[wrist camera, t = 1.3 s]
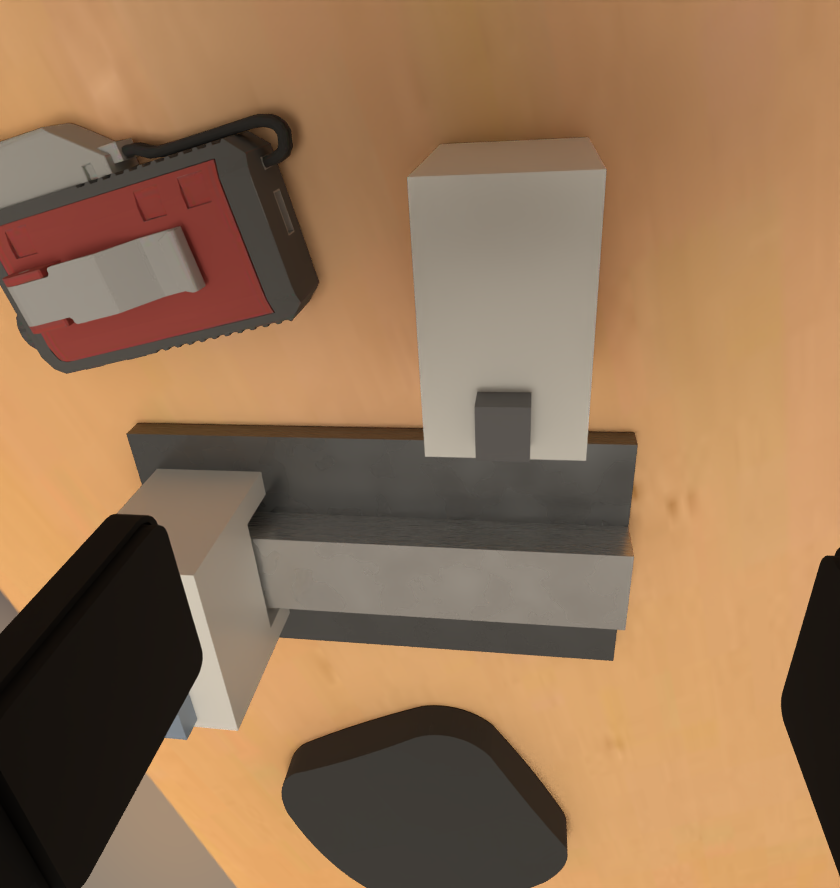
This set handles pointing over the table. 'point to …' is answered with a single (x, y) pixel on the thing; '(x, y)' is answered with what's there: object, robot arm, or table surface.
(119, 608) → the robot arm
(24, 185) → the walkie-talkie
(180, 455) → the rail plate
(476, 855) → the media streaming box
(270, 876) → the table surface
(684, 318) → the table surface
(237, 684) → the mounted module
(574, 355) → the block
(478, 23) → the table surface
